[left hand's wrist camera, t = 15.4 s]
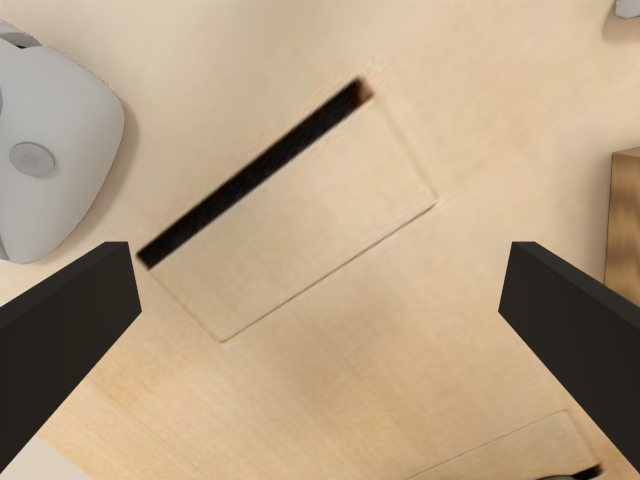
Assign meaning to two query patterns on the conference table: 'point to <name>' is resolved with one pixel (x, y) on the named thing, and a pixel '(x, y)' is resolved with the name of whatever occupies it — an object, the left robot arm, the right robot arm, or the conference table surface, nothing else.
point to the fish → (627, 9)
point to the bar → (624, 226)
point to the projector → (49, 144)
